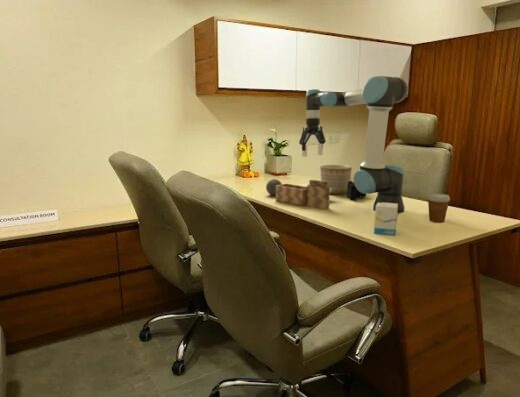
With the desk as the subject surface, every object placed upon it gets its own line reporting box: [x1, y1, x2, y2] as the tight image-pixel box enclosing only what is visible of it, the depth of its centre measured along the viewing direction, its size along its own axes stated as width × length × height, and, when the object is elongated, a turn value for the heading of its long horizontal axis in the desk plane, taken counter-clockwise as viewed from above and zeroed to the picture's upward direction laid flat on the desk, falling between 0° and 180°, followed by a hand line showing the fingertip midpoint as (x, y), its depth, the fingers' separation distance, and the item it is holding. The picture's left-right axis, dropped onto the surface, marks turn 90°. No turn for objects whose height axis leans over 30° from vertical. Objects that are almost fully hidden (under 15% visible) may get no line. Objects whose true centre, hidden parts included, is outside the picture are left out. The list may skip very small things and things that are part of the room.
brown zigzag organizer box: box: [275, 183, 330, 210], centre depth 216 cm, size 34×9×12 cm, turn 42°
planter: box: [319, 164, 353, 196], centre depth 248 cm, size 19×19×16 cm
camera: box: [346, 180, 367, 202], centre depth 231 cm, size 14×11×10 cm
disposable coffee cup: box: [426, 193, 451, 224], centre depth 179 cm, size 10×10×12 cm
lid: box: [298, 183, 332, 193], centre depth 231 cm, size 21×11×2 cm, turn 42°
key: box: [308, 179, 327, 187], centre depth 207 cm, size 10×2×2 cm, turn 42°
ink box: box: [373, 202, 398, 236], centre depth 163 cm, size 9×8×12 cm
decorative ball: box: [265, 179, 283, 197], centre depth 241 cm, size 10×10×10 cm
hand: (312, 155), depth 226 cm, fingers open, 13 cm apart
